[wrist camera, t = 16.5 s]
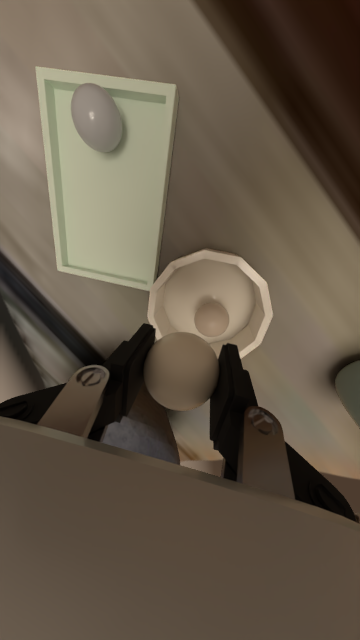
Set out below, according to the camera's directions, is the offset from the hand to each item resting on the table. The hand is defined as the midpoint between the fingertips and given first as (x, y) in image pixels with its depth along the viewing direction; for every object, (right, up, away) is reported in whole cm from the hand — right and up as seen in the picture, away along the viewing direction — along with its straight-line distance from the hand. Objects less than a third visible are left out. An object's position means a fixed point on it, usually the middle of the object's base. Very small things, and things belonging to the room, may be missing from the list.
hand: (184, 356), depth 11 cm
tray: (-8, +15, +9) cm, 20 cm away
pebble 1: (-7, +20, +7) cm, 22 cm away
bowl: (+3, +4, +12) cm, 13 cm away
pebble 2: (0, 0, +1) cm, 1 cm away
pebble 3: (+4, +3, +12) cm, 13 cm away
